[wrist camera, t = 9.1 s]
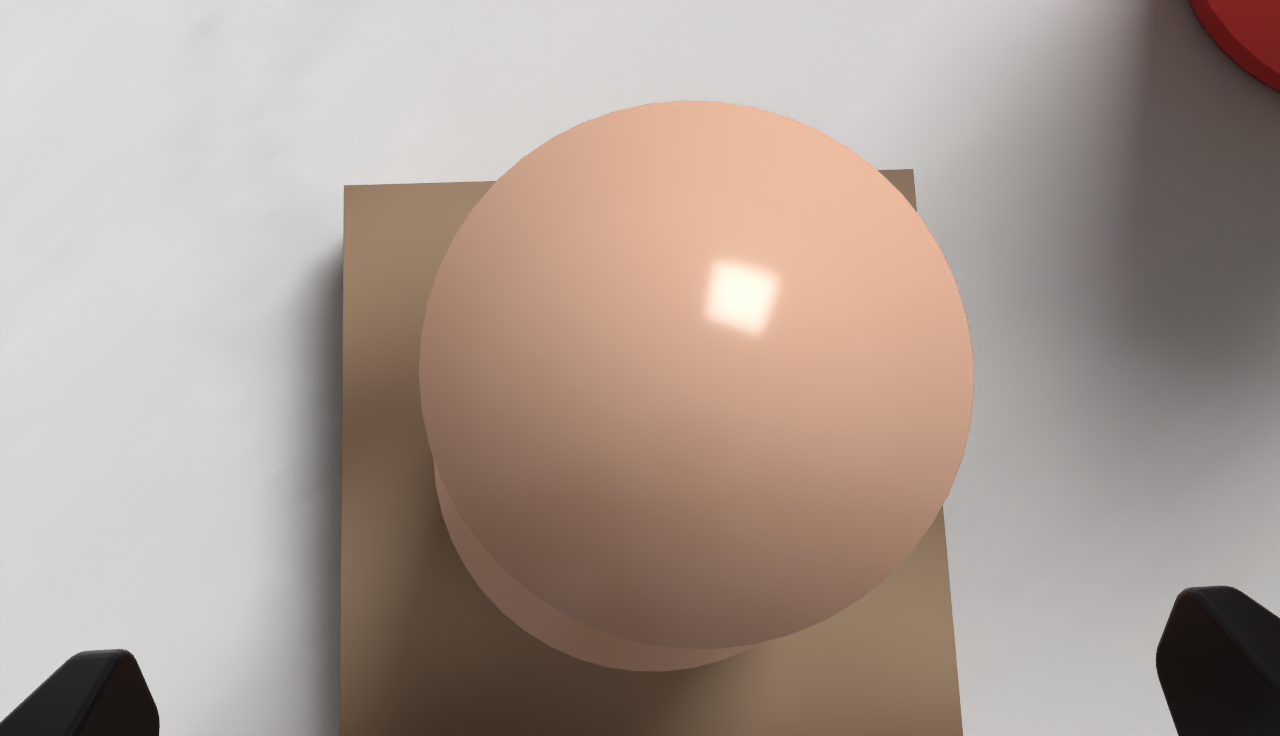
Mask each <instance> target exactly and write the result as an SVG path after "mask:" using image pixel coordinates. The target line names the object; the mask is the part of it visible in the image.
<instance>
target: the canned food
mask: <svg viewBox="0 0 1280 736" xmlns="http://www.w3.org/2000/svg"><path fill="white" fill-rule="evenodd" d="M1189 1H1190V3H1191V5H1192V7H1193V9H1194V11H1195V13H1196V15H1197V17H1198V19H1199V21H1200V22H1201V23H1202V25H1203V26H1204V27H1205V29H1206V30H1207V31H1208V33H1209V34H1210V35H1211V37H1212V38H1213V39H1214V41H1215V42H1216V43H1217V45H1218V46H1219V47H1220V48H1221V49H1222V50H1223V51H1224V52H1225V53H1226V54H1228V55H1229V56H1230V57H1231V58H1232V59H1233V60H1234V61H1235V62H1236V63H1237V64H1238V65H1239V66H1240V67H1241V68H1242V69H1244V70H1245V71H1247V72H1248V73H1250V74H1251V75H1253V76H1254V77H1256V78H1257V79H1259V80H1260V81H1262V82H1263V83H1265V84H1266V85H1268V86H1269V87H1271V88H1273V89H1275V90H1278V91H1280V0H1189Z"/></svg>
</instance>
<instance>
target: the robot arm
mask: <svg viewBox="0 0 1280 736" xmlns="http://www.w3.org/2000/svg"><path fill="white" fill-rule="evenodd" d="M1156 668H1157V674H1158V677H1159V681H1160V684H1161V686H1162V689H1163V692H1164V695H1165V698H1166V701H1167V704H1168V707H1169V710H1170V713H1171V715H1172V718H1173V721H1174V724H1175V727H1176V730H1177V733H1178V736H1280V618H1279V617H1278V616H1276V615H1275V614H1273V613H1272V612H1270V611H1269V610H1267V609H1266V608H1265V607H1263V606H1262V605H1260V604H1259V603H1257V602H1256V601H1254V600H1253V599H1252V598H1250V597H1249V596H1247V595H1246V594H1244V593H1243V592H1241V591H1239V590H1237V589H1235V588H1233V587H1229V586H1208V587H1191V588H1187V589H1184V590H1183V591H1182V592H1181V593H1180V594H1179V595H1178V596H1177V598H1176V600H1175V603H1174V606H1173V608H1172V611H1171V613H1170V616H1169V619H1168V621H1167V624H1166V626H1165V629H1164V632H1163V634H1162V637H1161V639H1160V642H1159V645H1158V648H1157V652H1156ZM159 727H160V725H159V715H158V710H157V707H156V704H155V702H154V700H153V698H152V695H151V693H150V691H149V688H148V686H147V684H146V681H145V679H144V677H143V675H142V672H141V670H140V668H139V665H138V663H137V661H136V659H135V657H134V656H133V655H132V654H131V653H130V652H129V651H127V650H123V649H112V650H94V651H84V652H80V653H77V654H76V655H74V656H72V657H71V658H70V659H68V660H67V661H66V662H65V663H64V664H63V665H62V666H61V667H60V668H58V669H57V670H56V671H55V672H54V673H53V674H52V675H51V676H50V677H49V678H48V679H47V680H46V681H44V682H43V683H42V684H41V685H40V686H39V687H38V688H37V689H36V690H35V691H34V692H33V693H32V694H30V695H29V696H28V697H27V698H26V699H25V700H24V701H23V702H22V703H21V704H20V705H19V706H18V707H16V708H15V709H14V710H13V711H12V712H11V713H10V714H9V715H8V716H7V717H6V718H5V719H4V720H2V721H1V722H0V736H159Z"/></svg>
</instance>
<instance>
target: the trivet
mask: <svg viewBox="0 0 1280 736" xmlns="http://www.w3.org/2000/svg"><path fill="white" fill-rule="evenodd" d="M878 171H879V172H880V173H881V174H882V175H883V176H884V177H885V178H886V179H887V180H888V181H889V182H890V183H891V184H892V185H893V186H894V187H895V188H896V189H897V190H898V191H900V192H901V193H902V195H903V196H904V197H905V198H906V200H907V201H908V202H909V203H910V205H911V206H912V207H913V208H914V210H915V211H916V212H917V209H916V197H915V186H914V175H913V169H904V170H878ZM495 182H496V181H486V182H451V183H416V184H381V185H347V186H344V239H343V365H342V490H341V615H340V736H963V730H962V719H961V707H960V696H959V685H958V673H957V662H956V651H955V639H954V628H953V617H952V605H951V594H950V583H949V571H948V560H947V549H946V537H945V526H944V515H943V505H942V507H941V509H940V511H939V512H938V514H937V516H936V518H935V520H934V522H933V523H932V525H931V526H930V528H929V529H928V530H927V532H926V533H925V534H924V536H923V537H922V538H921V540H920V541H919V543H918V544H917V545H916V547H915V548H914V549H913V551H912V552H911V553H910V554H909V555H908V556H907V557H906V558H905V560H904V561H903V562H902V563H901V564H900V565H899V566H898V567H897V568H896V569H895V570H894V571H893V572H892V573H891V574H890V575H889V576H888V577H887V578H886V579H885V580H884V581H883V582H881V583H880V584H879V585H877V586H876V587H875V588H874V589H872V590H871V591H870V592H869V593H867V594H866V595H865V596H864V597H862V598H861V599H860V600H858V601H857V602H856V603H854V604H852V605H850V606H849V607H847V608H845V609H844V610H842V611H840V612H839V613H837V614H835V615H833V616H832V617H830V618H828V619H827V620H825V621H823V622H820V623H818V624H815V625H813V626H811V627H808V628H806V629H803V630H801V631H799V632H796V633H794V634H791V635H788V636H784V637H781V638H777V639H773V640H769V641H765V642H762V643H758V644H757V645H755V646H753V647H752V648H750V649H748V650H746V651H743V652H741V653H738V654H736V655H734V656H731V657H729V658H726V659H724V660H721V661H718V662H714V663H710V664H706V665H702V666H699V667H695V668H689V669H680V670H672V671H630V670H624V669H617V668H610V667H605V666H601V665H598V664H594V663H591V662H587V661H584V660H580V659H577V658H575V657H573V656H570V655H568V654H566V653H564V652H561V651H559V650H557V649H555V648H552V647H550V646H548V645H547V644H545V643H544V642H542V641H540V640H539V639H537V638H536V637H534V636H532V635H531V634H529V633H527V632H526V631H524V630H523V629H522V628H521V627H520V626H518V625H517V624H516V623H515V622H513V621H512V620H511V619H510V618H509V617H507V616H506V615H505V614H504V613H502V612H501V610H500V609H499V608H498V607H497V606H496V605H495V604H494V603H493V602H492V601H491V600H490V599H489V598H488V596H487V595H486V594H485V593H484V592H483V591H482V590H481V588H480V587H479V586H478V584H477V583H476V581H475V580H474V578H473V577H472V576H471V574H470V573H469V571H468V570H467V569H466V567H465V565H464V563H463V561H462V560H461V558H460V556H459V554H458V552H457V550H456V548H455V546H454V544H453V542H452V540H451V537H450V535H449V532H448V529H447V526H446V524H445V521H444V518H443V515H442V512H441V508H440V503H439V498H438V494H437V489H436V484H435V472H434V460H433V455H432V452H431V449H430V446H429V442H428V437H427V433H426V428H425V424H424V419H423V414H422V408H421V396H420V384H419V360H420V341H421V334H422V328H423V323H424V318H425V312H426V307H427V302H428V299H429V296H430V293H431V290H432V287H433V284H434V281H435V278H436V275H437V272H438V269H439V267H440V265H441V263H442V261H443V259H444V257H445V255H446V253H447V250H448V248H449V246H450V244H451V242H452V240H453V238H454V236H455V235H456V233H457V232H458V230H459V229H460V227H461V226H462V224H463V223H464V221H465V220H466V218H467V217H468V215H469V214H470V212H471V211H472V209H473V208H474V207H475V205H476V204H477V203H478V202H479V201H480V200H481V198H482V197H483V196H484V195H485V194H486V193H487V192H488V190H489V189H490V188H491V187H492V186H493V185H494V184H495Z"/></svg>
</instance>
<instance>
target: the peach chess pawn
mask: <svg viewBox="0 0 1280 736" xmlns="http://www.w3.org/2000/svg"><path fill="white" fill-rule="evenodd" d="M419 384H420V396H421V408H422V414H423V419H424V424H425V428H426V433H427V437H428V442H429V446H430V449H431V452H432V455H433V460H434V472H435V484H436V489H437V494H438V498H439V503H440V508H441V512H442V515H443V518H444V521H445V524H446V526H447V529H448V532H449V535H450V537H451V540H452V542H453V544H454V546H455V548H456V550H457V552H458V554H459V556H460V558H461V560H462V561H463V563H464V565H465V567H466V569H467V570H468V571H469V573H470V574H471V576H472V577H473V578H474V580H475V581H476V583H477V584H478V586H479V587H480V588H481V590H482V591H483V592H484V593H485V594H486V595H487V596H488V598H489V599H490V600H491V601H492V602H493V603H494V604H495V605H496V606H497V607H498V608H499V609H500V610H501V612H502V613H504V614H505V615H506V616H507V617H509V618H510V619H511V620H512V621H513V622H515V623H516V624H517V625H518V626H520V627H521V628H522V629H523V630H524V631H526V632H527V633H529V634H531V635H532V636H534V637H536V638H537V639H539V640H540V641H542V642H544V643H545V644H547V645H548V646H550V647H552V648H555V649H557V650H559V651H561V652H564V653H566V654H568V655H570V656H573V657H575V658H577V659H580V660H584V661H587V662H591V663H594V664H598V665H601V666H605V667H610V668H617V669H624V670H630V671H672V670H680V669H689V668H695V667H699V666H702V665H706V664H710V663H714V662H718V661H721V660H724V659H726V658H729V657H731V656H734V655H736V654H738V653H741V652H743V651H746V650H748V649H750V648H752V647H753V646H755V645H757V644H758V643H762V642H765V641H769V640H773V639H777V638H781V637H784V636H788V635H791V634H794V633H796V632H799V631H801V630H803V629H806V628H808V627H811V626H813V625H815V624H818V623H820V622H823V621H825V620H827V619H828V618H830V617H832V616H833V615H835V614H837V613H839V612H840V611H842V610H844V609H845V608H847V607H849V606H850V605H852V604H854V603H856V602H857V601H858V600H860V599H861V598H862V597H864V596H865V595H866V594H867V593H869V592H870V591H871V590H872V589H874V588H875V587H876V586H877V585H879V584H880V583H881V582H883V581H884V580H885V579H886V578H887V577H888V576H889V575H890V574H891V573H892V572H893V571H894V570H895V569H896V568H897V567H898V566H899V565H900V564H901V563H902V562H903V561H904V560H905V558H906V557H907V556H908V555H909V554H910V553H911V552H912V551H913V549H914V548H915V547H916V545H917V544H918V543H919V541H920V540H921V538H922V537H923V536H924V534H925V533H926V532H927V530H928V529H929V528H930V526H931V525H932V523H933V522H934V520H935V518H936V516H937V514H938V512H939V511H940V509H941V507H942V505H943V503H944V501H945V499H946V498H947V496H948V494H949V492H950V490H951V487H952V484H953V482H954V479H955V476H956V474H957V471H958V469H959V466H960V463H961V461H962V458H963V454H964V449H965V445H966V441H967V436H968V432H969V428H970V423H971V414H972V403H973V392H974V374H973V351H972V345H971V339H970V333H969V327H968V321H967V316H966V313H965V309H964V306H963V303H962V300H961V296H960V293H959V290H958V287H957V283H956V281H955V279H954V277H953V274H952V272H951V270H950V268H949V265H948V263H947V261H946V259H945V257H944V254H943V252H942V250H941V249H940V247H939V245H938V244H937V242H936V240H935V239H934V237H933V236H932V234H931V232H930V231H929V229H928V227H927V226H926V224H925V222H924V221H923V220H922V218H921V217H920V216H919V215H918V213H917V212H916V211H915V210H914V208H913V207H912V206H911V205H910V203H909V202H908V201H907V200H906V198H905V197H904V196H903V195H902V193H901V192H900V191H898V190H897V189H896V188H895V187H894V186H893V185H892V184H891V183H890V182H889V181H888V180H887V179H886V178H885V177H884V176H883V175H882V174H881V173H880V172H879V171H878V170H877V169H876V168H874V167H873V166H872V165H870V164H869V163H868V162H866V161H865V160H864V159H862V158H861V157H860V156H859V155H857V154H856V153H855V152H853V151H852V150H851V149H849V148H848V147H846V146H844V145H843V144H841V143H839V142H837V141H836V140H834V139H832V138H830V137H829V136H827V135H825V134H824V133H822V132H820V131H818V130H816V129H814V128H811V127H809V126H807V125H804V124H802V123H800V122H797V121H795V120H793V119H790V118H788V117H785V116H782V115H778V114H775V113H771V112H768V111H764V110H761V109H757V108H754V107H748V106H742V105H735V104H729V103H723V102H709V101H674V102H663V103H652V104H646V105H641V106H637V107H632V108H628V109H623V110H618V111H614V112H612V113H609V114H606V115H603V116H600V117H598V118H595V119H592V120H589V121H586V122H583V123H581V124H579V125H577V126H575V127H573V128H571V129H569V130H567V131H565V132H563V133H561V134H559V135H557V136H555V137H553V138H552V139H550V140H549V141H547V142H546V143H544V144H543V145H541V146H540V147H538V148H537V149H535V150H534V151H532V152H531V153H529V154H528V155H526V156H525V157H523V158H522V159H521V160H520V161H519V162H518V163H517V164H515V165H514V166H513V167H512V168H511V169H510V170H509V171H507V172H506V173H505V174H504V175H503V176H502V177H501V178H500V179H498V180H497V181H496V182H495V184H494V185H493V186H492V187H491V188H490V189H489V190H488V192H487V193H486V194H485V195H484V196H483V197H482V198H481V200H480V201H479V202H478V203H477V204H476V205H475V207H474V208H473V209H472V211H471V212H470V214H469V215H468V217H467V218H466V220H465V221H464V223H463V224H462V226H461V227H460V229H459V230H458V232H457V233H456V235H455V236H454V238H453V240H452V242H451V244H450V246H449V248H448V250H447V253H446V255H445V257H444V259H443V261H442V263H441V265H440V267H439V269H438V272H437V275H436V278H435V281H434V284H433V287H432V290H431V293H430V296H429V299H428V302H427V307H426V312H425V318H424V323H423V328H422V334H421V341H420V360H419Z"/></svg>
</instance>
